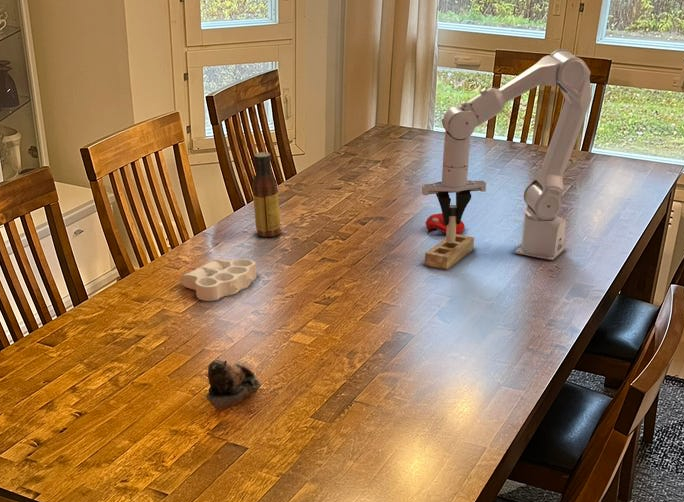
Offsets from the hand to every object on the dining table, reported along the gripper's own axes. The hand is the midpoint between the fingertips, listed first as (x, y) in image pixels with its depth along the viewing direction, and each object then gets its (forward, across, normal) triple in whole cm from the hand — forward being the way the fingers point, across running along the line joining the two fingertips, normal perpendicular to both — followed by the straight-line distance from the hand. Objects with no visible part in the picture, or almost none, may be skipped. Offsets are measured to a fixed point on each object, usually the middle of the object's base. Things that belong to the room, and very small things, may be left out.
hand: (451, 223), depth 233 cm
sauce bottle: (+8, +41, -23) cm, 48 cm away
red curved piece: (+8, -5, -19) cm, 21 cm away
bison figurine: (+8, +56, +61) cm, 83 cm away
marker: (+4, 0, 0) cm, 4 cm away
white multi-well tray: (+8, +55, +7) cm, 56 cm away
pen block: (+8, 0, 0) cm, 8 cm away
